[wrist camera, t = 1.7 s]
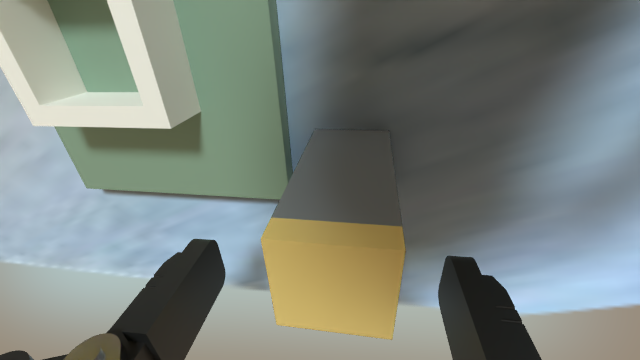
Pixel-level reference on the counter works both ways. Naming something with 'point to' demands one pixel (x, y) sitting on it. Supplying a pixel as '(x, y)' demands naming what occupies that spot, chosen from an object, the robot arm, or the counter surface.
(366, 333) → the plug
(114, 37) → the header board
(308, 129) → the counter surface
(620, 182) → the counter surface
